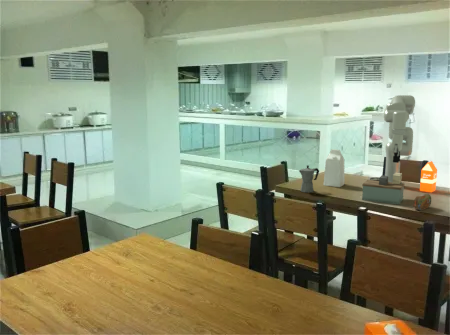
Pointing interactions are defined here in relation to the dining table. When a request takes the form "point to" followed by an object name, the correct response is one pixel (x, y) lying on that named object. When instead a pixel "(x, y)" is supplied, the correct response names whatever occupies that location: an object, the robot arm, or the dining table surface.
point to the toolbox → (382, 195)
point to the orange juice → (428, 178)
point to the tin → (422, 202)
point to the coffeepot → (308, 179)
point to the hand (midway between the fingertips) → (396, 161)
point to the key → (397, 178)
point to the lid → (383, 183)
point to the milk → (334, 169)
